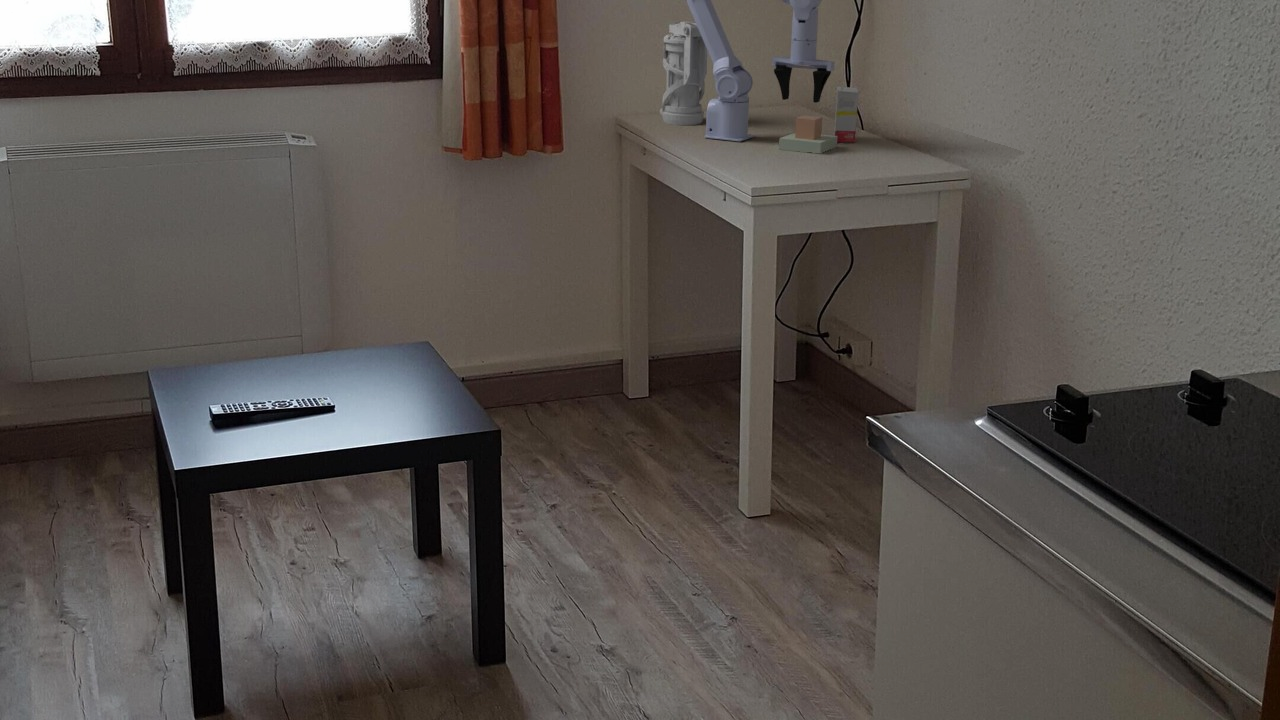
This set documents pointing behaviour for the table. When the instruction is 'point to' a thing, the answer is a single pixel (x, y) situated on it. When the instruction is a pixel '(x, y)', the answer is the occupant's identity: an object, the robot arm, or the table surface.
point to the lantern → (684, 74)
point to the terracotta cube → (808, 127)
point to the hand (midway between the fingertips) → (800, 100)
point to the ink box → (846, 114)
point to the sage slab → (807, 143)
